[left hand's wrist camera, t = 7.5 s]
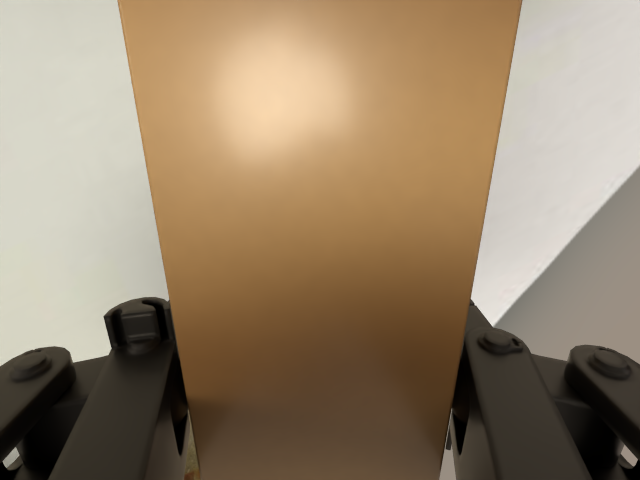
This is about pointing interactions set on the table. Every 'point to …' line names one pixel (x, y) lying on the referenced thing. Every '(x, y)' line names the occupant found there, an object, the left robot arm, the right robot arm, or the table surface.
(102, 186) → the table surface
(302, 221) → the bar
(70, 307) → the table surface
